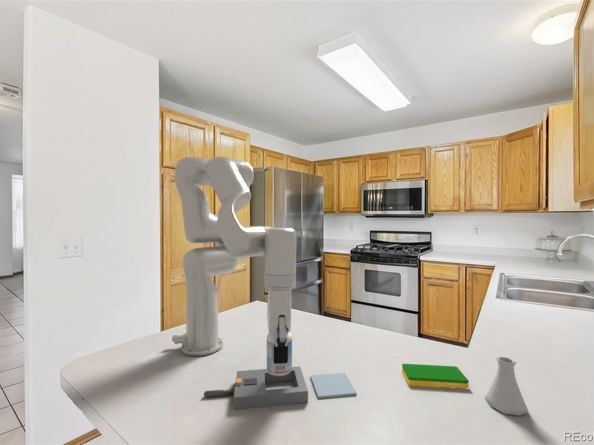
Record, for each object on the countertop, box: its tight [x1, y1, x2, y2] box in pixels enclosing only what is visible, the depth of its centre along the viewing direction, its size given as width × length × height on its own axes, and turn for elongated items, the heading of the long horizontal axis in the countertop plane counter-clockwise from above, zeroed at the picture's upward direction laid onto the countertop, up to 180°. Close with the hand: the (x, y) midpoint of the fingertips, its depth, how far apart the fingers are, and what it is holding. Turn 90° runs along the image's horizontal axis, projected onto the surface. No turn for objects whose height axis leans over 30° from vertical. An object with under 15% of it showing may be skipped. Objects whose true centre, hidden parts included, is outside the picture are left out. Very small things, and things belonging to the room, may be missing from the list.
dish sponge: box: [401, 363, 470, 389], centre depth 73 cm, size 7×14×2 cm, turn 83°
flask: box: [484, 356, 529, 417], centre depth 63 cm, size 7×7×10 cm
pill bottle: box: [266, 320, 293, 376], centre depth 69 cm, size 6×6×11 cm
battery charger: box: [203, 365, 309, 410], centre depth 68 cm, size 23×11×3 cm, turn 98°
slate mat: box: [310, 372, 358, 399], centre depth 71 cm, size 9×9×1 cm
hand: (279, 355), depth 69 cm, fingers closed on pill bottle, 6 cm apart
